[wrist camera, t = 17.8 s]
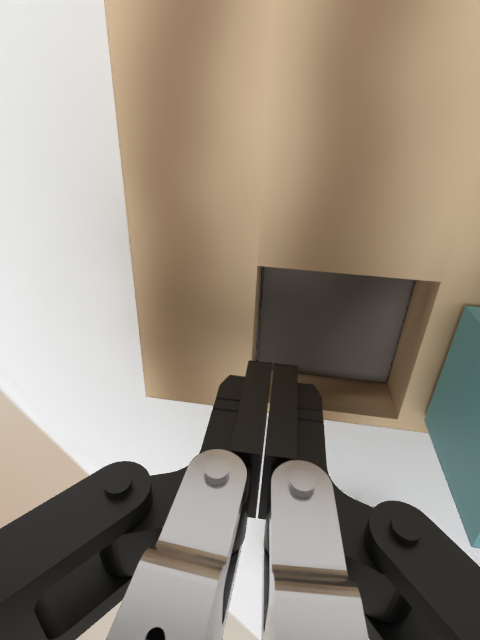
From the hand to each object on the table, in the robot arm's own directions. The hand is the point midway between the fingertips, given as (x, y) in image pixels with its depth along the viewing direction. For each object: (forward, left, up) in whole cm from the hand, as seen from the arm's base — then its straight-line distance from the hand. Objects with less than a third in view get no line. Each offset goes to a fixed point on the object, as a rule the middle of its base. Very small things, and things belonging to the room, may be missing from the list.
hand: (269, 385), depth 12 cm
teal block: (-9, 0, -3) cm, 9 cm away
